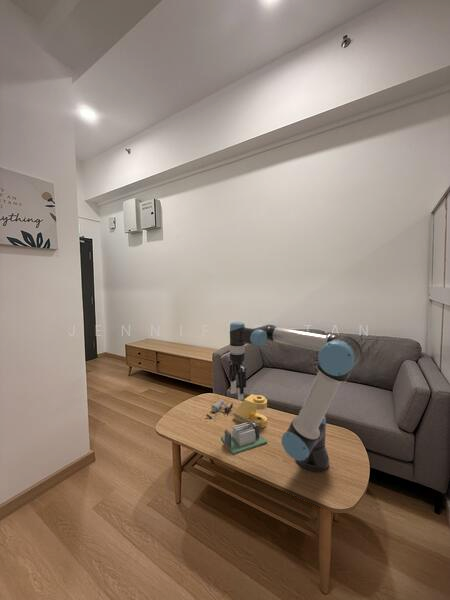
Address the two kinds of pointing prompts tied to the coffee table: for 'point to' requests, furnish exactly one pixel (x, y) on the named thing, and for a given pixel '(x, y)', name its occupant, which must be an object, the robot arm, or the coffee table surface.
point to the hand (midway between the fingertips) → (237, 396)
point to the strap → (244, 419)
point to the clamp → (252, 410)
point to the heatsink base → (239, 449)
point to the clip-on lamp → (219, 404)
